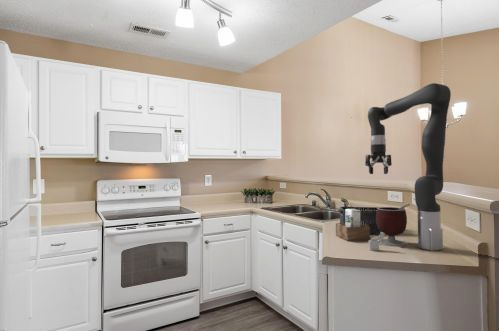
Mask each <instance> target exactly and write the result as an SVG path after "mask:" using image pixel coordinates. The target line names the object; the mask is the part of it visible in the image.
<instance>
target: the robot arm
mask: <svg viewBox="0 0 499 331" xmlns="http://www.w3.org/2000/svg"><path fill="white" fill-rule="evenodd" d="M451 96H452V95H451V89H450V87H449V86H447V85H445V84H441V83H436V82H435V83H434V82H433V83H430V84H426V85H425V86H423V87H422V88H419V89H418V90H416V91H414V92H413V93H410V94H408V95H406V96H404V97H401V98H399V99H396V100H393V101H391V102H388V103H386V104H385V105H384V106H382V107H379V106H372V107H371V108H369V109H368V112H367V120H368V124H369V126H370V154H366V155H365V163H364V165H365V166H366V167H368V173H369V175H374V166H375V164H378V163H380V164H382V166H383V174H384V175H388V173H389V167H391V166H392V155H391V154H386V152H387V150H386V149H387V148H386V146H387V143H386V128H385V125H384V124H382V123H381V122H382V121H385V120H387V119H389V118H391V117H393V116H397V115H400V114H402V113H405V112H407V111H408V110H410V109H412V108H413V107H415V106H420V105H425V104H427V105H428V104H429V105H430V106H431V108H430V116H429V118H428V119H429V120H428V121H427V123H426V125H425V127H424V129H423V131H422V134H421V136H422V137H421V152H422V155H423V158H424V160H425V165H426V167H425V169H426V170H425V175H423V176H419V177H418V178H417V179H415V183H414V200H415V201H414V202H415V204H416V207H417V208H416V209H417V210H416V211H417V246H418V248H419V249H422V250H427V251H431V252H432V251H440V250H439V249H443V250H444V242H443V241H444V240H443V239H444V238H443V234H444V233H443V232H444V230H443V228H441V227H442V226H441V218H442V217H441V205H440V204H438V203H437V200H436V196H438V195H439V194H441V193H442V191H443V189H444V168H443V167H444V157H445V155H444V154H445V144H446V133H447V132H446V131H447V120H448V119H447V117H448V112H449V107H450V102H451Z"/></svg>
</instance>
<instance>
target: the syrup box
mask: <svg viewBox="0 0 499 331" xmlns="http://www.w3.org/2000/svg"><path fill="white" fill-rule="evenodd" d="M345 223H346V225H345V226H346V227H360V210H356V209H345Z"/></svg>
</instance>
